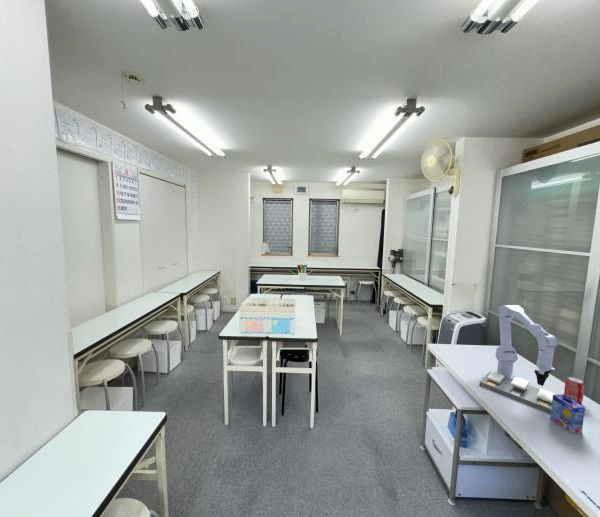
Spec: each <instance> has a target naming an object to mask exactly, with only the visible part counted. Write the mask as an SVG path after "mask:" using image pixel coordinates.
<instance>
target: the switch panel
mask: <svg viewBox="0 0 600 517" xmlns="http://www.w3.org/2000/svg"><path fill="white" fill-rule="evenodd" d="M491 372H492V371H489V372H488V373H487V374H486V375H485V376H484V377H483V378H482V379H481V380H480V381H479V386H481V387H483V388H487V389H489V390H491V391H493V392H497V393H499V394H501V395H504V396H507V397H509V398H511V399H514V400H516V401H519V402H521V403H524V404H526V405H529V406H531V407H534V408H537V409H538V410H541V411H544V412H547V413H549V414H551V407H552V403H550V402H547V401H545V400H542V399H539V398H537V394H538V392H539V391H540V389H541V388H538V387H534V386H532V385H529V384H528V386H527V387H526V389H525V390H523V389H521V388H518V387H515V386H513V385H511V382H512V381H513V379H514V378H512V379H510V378H507V377H504V379H503V380H502V381H501V382H500V384H499V383H497V382H494V381H491V380H489V379H487V377H488V376H489V375H490V373H491Z"/></svg>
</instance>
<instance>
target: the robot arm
mask: <svg viewBox="0 0 600 517" xmlns="http://www.w3.org/2000/svg"><path fill="white" fill-rule="evenodd" d="M498 315H499V316H498V318H499V337H500V338H499V339H500V345H499V346H498V347H496V352H495V358H496V359H497V367H496V368H497V370H496V371H495V372H496V373H499V374H502V375H505V377H507V378H510V379H514V376H515V374H514V373H513V372H514V364H515V362H517V361H518V354H517V350H516V349H515V348H514V347H513V344H512V327H511V325H512V324H511V321H512V320H513V319H514V318H517V319H518V320H519V321H520V322H521V323H523V324H524V325H525V326H526V327H527V331H528V332H530V333H531V334H532V336H534V338H536V342H537V344H538V345H537V346H538V354H537V360H536V367H537V369H534V374H535V376H536V382H537V385H538V386H541V387H543V386H544V385H545V383H546V381H547V379H548V377H550V372H551V371H553V372H554V371H556V370H555V369H556V368H555V367H553V361H554V353H555V347H558V346H559V340H558V338H557V336H556V335H554V334H551V333H549V332H547V331H546V330H545V329H544V328H543V327H542V325H540V324H538V323H535V322H534V321H532V319H531V318H530V317H529V316H528V315H527V314H526V312H525V310H524V308H522V307H521V305H520V304H512V305H511V304H507V305H506V304H502V305H501V306H500V307H498Z"/></svg>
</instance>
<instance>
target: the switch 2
mask: <svg viewBox="0 0 600 517" xmlns="http://www.w3.org/2000/svg"><path fill="white" fill-rule="evenodd" d="M512 379H513V381H512V382H511V385H513V386H515V387H518V388H521V389H523V390H525V389H526V387H527V386H528V385H529V384H530V381H529V380H526V379H524V378H521V377H519V376H515V377H513V378H512Z"/></svg>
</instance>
